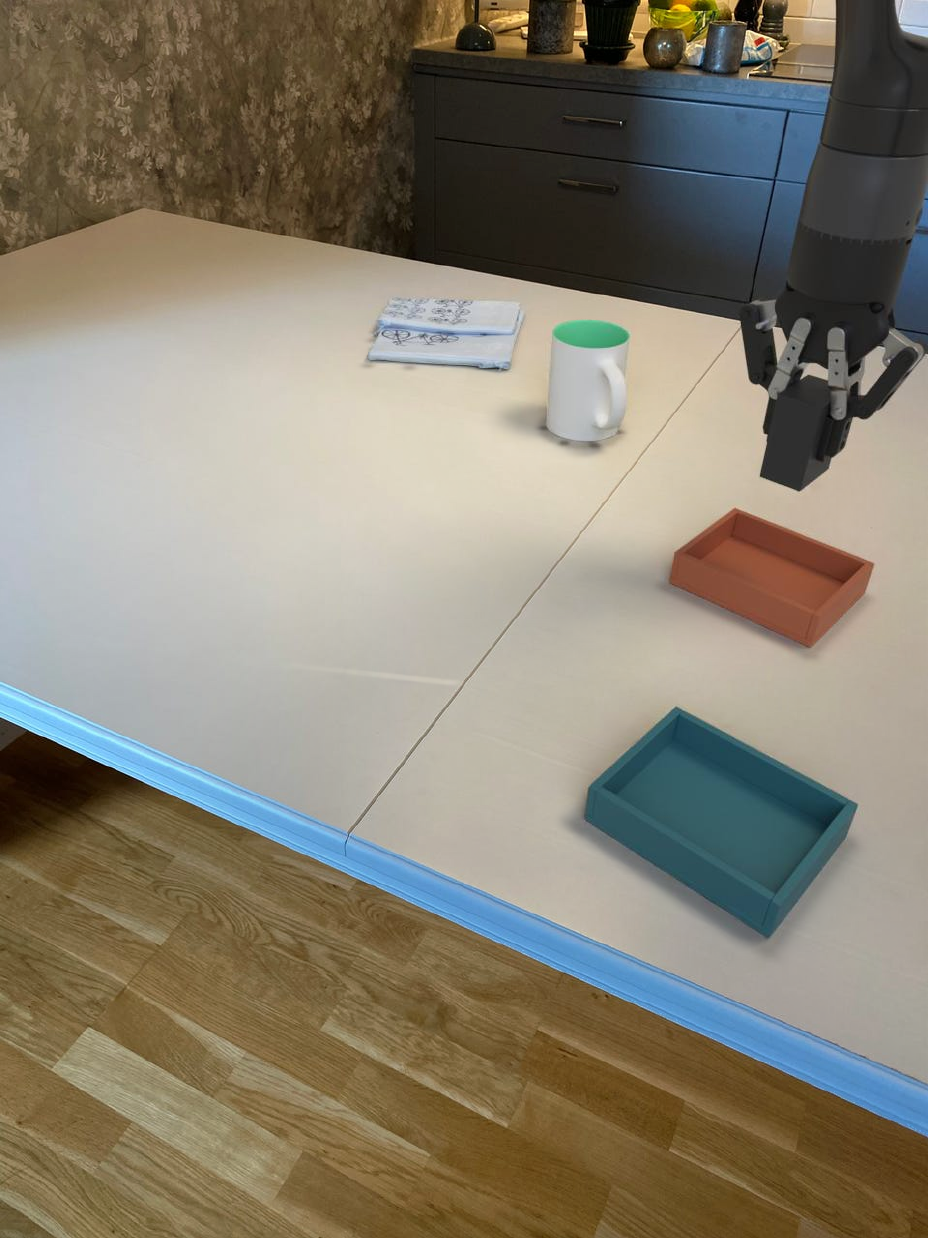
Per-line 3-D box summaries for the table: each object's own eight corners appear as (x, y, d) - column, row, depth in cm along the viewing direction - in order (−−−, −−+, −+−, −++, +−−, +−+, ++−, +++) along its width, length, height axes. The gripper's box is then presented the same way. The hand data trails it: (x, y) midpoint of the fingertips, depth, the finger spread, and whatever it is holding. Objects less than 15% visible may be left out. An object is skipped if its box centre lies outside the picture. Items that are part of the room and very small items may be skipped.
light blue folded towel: (525, 315, 135) (526, 299, 134) (510, 373, 119) (510, 356, 118) (390, 306, 137) (390, 291, 136) (357, 363, 121) (356, 346, 120)
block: (828, 469, 78) (851, 386, 74) (799, 492, 75) (821, 407, 71) (788, 454, 80) (808, 373, 75) (758, 476, 77) (777, 393, 72)
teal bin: (846, 837, 62) (859, 804, 60) (769, 939, 56) (780, 906, 54) (669, 738, 69) (676, 705, 67) (583, 819, 63) (588, 786, 61)
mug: (651, 449, 104) (664, 356, 98) (584, 463, 101) (593, 367, 95) (597, 404, 113) (606, 315, 106) (534, 415, 110) (539, 325, 104)
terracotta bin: (865, 593, 84) (875, 563, 82) (810, 648, 77) (819, 617, 76) (728, 536, 90) (734, 507, 89) (668, 582, 84) (673, 552, 83)
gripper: (735, 208, 67) (695, 436, 77) (941, 253, 60) (867, 499, 70) (787, 188, 71) (743, 406, 82) (985, 228, 64) (908, 462, 74)
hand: (800, 448), depth 76 cm, fingers closed on block, 3 cm apart
